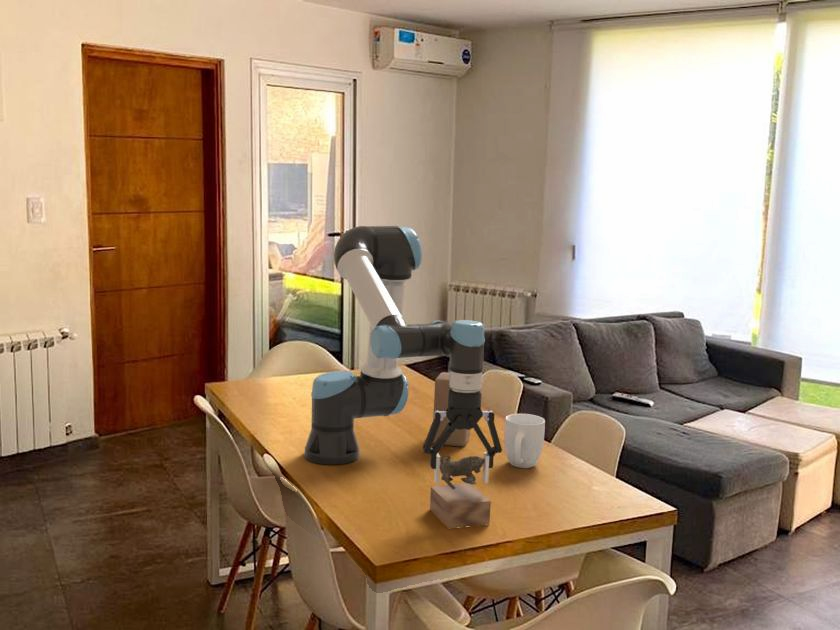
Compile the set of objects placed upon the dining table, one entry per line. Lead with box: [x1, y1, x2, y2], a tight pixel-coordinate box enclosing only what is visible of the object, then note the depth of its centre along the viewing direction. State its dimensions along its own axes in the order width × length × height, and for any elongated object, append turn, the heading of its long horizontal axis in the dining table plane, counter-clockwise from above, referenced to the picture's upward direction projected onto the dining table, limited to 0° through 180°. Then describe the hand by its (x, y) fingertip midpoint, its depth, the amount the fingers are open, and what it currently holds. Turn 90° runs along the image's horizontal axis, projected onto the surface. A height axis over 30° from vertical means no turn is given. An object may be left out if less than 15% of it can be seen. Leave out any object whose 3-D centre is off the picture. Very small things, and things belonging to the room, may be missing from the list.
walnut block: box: [429, 482, 492, 529], centre depth 199 cm, size 10×12×6 cm
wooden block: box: [432, 371, 471, 447], centre depth 255 cm, size 10×10×20 cm
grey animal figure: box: [440, 454, 484, 489], centre depth 197 cm, size 12×6×7 cm, turn 118°
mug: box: [503, 413, 546, 469], centre depth 235 cm, size 15×11×13 cm
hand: (460, 481), depth 198 cm, fingers closed on grey animal figure, 11 cm apart
